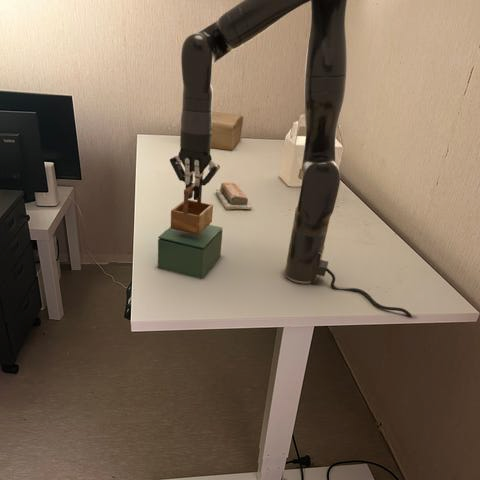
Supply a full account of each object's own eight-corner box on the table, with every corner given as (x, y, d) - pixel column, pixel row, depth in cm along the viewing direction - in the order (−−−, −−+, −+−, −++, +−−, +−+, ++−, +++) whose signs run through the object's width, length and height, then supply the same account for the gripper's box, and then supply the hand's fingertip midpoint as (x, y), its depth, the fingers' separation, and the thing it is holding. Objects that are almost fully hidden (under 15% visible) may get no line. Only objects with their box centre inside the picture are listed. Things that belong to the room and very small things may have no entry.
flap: (180, 219, 135) (180, 218, 134) (222, 228, 132) (222, 227, 132) (170, 228, 129) (170, 227, 129) (213, 238, 126) (213, 237, 126)
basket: (185, 216, 131) (186, 177, 125) (211, 221, 129) (214, 182, 123) (170, 228, 123) (171, 187, 117) (198, 234, 121) (200, 193, 115)
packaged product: (216, 181, 180) (240, 181, 183) (215, 193, 183) (239, 193, 185) (226, 197, 166) (253, 197, 168) (225, 210, 168) (251, 210, 171)
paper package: (181, 144, 239) (182, 115, 231) (194, 134, 260) (195, 107, 252) (232, 152, 237) (235, 123, 229) (241, 141, 258) (243, 114, 250)
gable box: (287, 186, 199) (298, 117, 183) (278, 176, 209) (288, 110, 194) (335, 187, 204) (350, 120, 188) (324, 178, 214) (337, 113, 199)
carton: (180, 247, 140) (180, 218, 134) (220, 256, 137) (222, 227, 132) (158, 268, 128) (157, 236, 122) (201, 278, 125) (203, 247, 120)
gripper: (163, 127, 111) (163, 197, 120) (217, 136, 108) (212, 208, 118) (176, 122, 117) (175, 189, 126) (227, 131, 114) (222, 199, 124)
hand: (193, 198), depth 122 cm, fingers closed on basket, 1 cm apart
